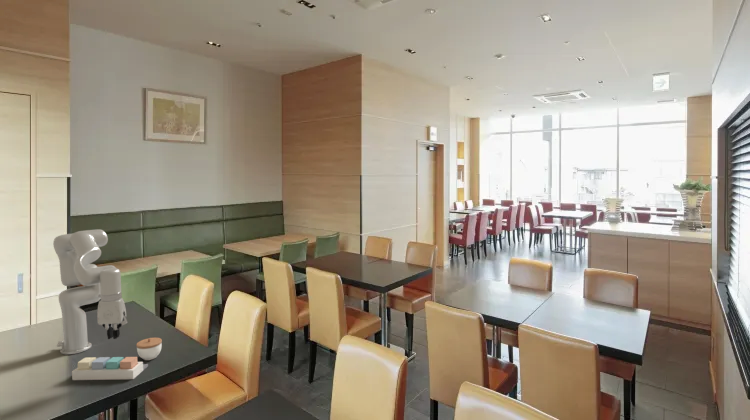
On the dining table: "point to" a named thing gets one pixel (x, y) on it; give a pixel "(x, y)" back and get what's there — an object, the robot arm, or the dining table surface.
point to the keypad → (108, 373)
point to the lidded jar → (149, 348)
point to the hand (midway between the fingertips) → (113, 337)
